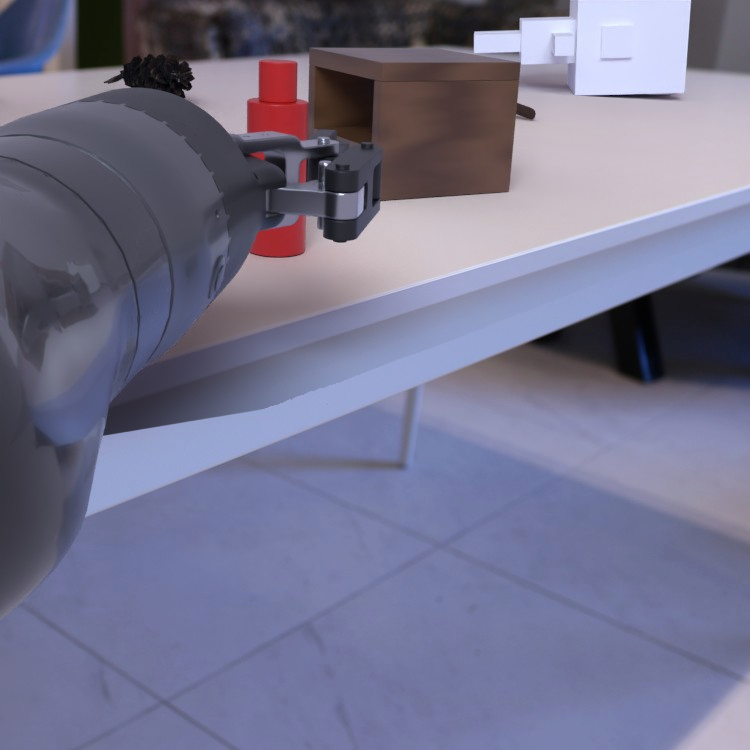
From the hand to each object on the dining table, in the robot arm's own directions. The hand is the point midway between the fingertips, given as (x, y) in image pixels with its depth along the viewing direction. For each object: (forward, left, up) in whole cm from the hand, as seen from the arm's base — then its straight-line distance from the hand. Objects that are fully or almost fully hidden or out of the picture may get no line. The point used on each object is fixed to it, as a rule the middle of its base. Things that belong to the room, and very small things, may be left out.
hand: (231, 147), depth 46 cm
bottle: (+6, +8, -7) cm, 12 cm away
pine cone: (+18, +71, -7) cm, 74 cm away
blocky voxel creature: (+79, +73, -7) cm, 108 cm away
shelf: (+23, +23, -7) cm, 33 cm away
